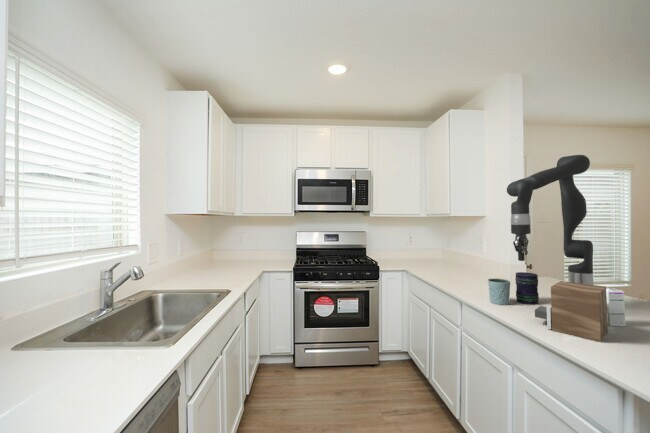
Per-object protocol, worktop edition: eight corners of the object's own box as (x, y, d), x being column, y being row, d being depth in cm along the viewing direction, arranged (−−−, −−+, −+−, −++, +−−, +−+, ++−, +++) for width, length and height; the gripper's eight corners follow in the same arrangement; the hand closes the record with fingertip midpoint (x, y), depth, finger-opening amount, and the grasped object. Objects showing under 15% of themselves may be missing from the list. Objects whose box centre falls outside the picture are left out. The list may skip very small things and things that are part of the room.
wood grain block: (561, 321, 122) (560, 281, 122) (607, 331, 111) (606, 286, 111) (552, 330, 112) (550, 286, 113) (600, 342, 101) (599, 293, 102)
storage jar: (514, 302, 150) (513, 274, 150) (517, 298, 157) (516, 271, 157) (537, 306, 143) (536, 276, 143) (540, 301, 150) (539, 273, 151)
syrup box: (626, 326, 115) (625, 291, 115) (609, 326, 116) (608, 290, 116) (615, 321, 120) (613, 287, 121) (598, 321, 122) (597, 287, 122)
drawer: (543, 316, 127) (542, 297, 127) (602, 328, 112) (601, 307, 112) (532, 324, 118) (531, 304, 118) (594, 339, 103) (594, 316, 103)
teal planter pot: (510, 301, 151) (510, 279, 152) (511, 307, 143) (510, 283, 143) (488, 299, 157) (488, 277, 157) (488, 304, 148) (487, 281, 148)
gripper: (524, 224, 126) (526, 263, 125) (534, 223, 134) (535, 259, 134) (506, 224, 131) (507, 261, 131) (516, 223, 140) (517, 258, 139)
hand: (521, 260), depth 132 cm, fingers closed
